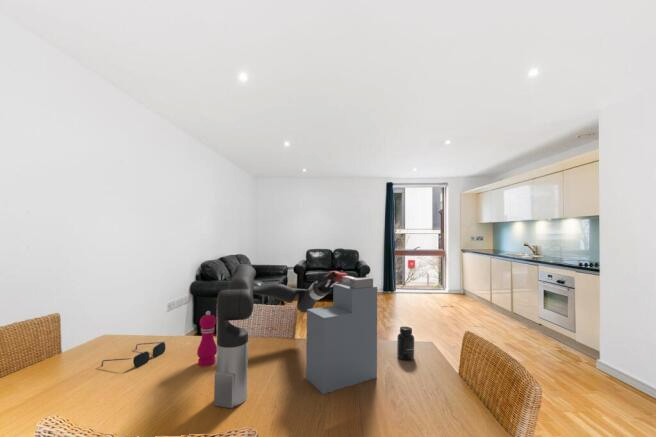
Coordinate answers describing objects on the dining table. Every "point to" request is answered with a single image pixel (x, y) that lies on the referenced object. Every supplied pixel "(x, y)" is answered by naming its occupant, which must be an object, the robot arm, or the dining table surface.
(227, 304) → the robot arm
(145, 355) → the sunglasses
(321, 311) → the stand
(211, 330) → the pepper mill
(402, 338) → the supplement bottle
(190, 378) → the dining table surface
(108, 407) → the dining table surface
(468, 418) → the dining table surface
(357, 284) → the grey red bar
